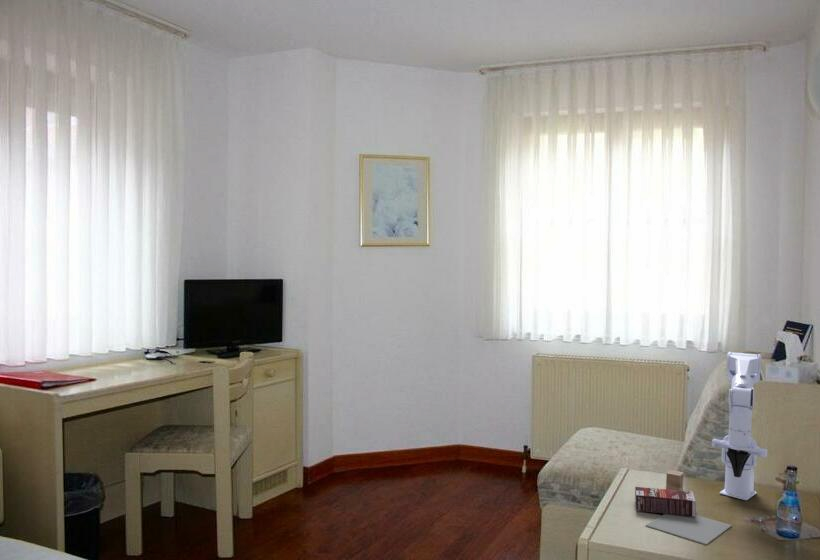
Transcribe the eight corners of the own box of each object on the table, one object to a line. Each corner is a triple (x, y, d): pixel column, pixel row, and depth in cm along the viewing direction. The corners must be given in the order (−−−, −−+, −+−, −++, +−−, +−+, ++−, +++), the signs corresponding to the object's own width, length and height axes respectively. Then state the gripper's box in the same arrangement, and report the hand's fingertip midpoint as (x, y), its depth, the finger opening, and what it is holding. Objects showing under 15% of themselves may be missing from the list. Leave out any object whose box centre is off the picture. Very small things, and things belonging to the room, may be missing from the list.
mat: (673, 509, 196) (673, 508, 196) (731, 526, 185) (731, 525, 185) (645, 526, 183) (645, 525, 183) (706, 545, 172) (706, 543, 172)
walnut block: (668, 492, 211) (669, 469, 211) (682, 495, 209) (683, 472, 208) (665, 495, 207) (666, 473, 207) (679, 498, 205) (680, 475, 205)
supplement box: (696, 500, 189) (635, 495, 193) (696, 517, 189) (635, 512, 193) (692, 490, 197) (634, 485, 202) (692, 507, 197) (634, 502, 202)
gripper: (708, 426, 197) (706, 473, 197) (762, 437, 187) (760, 485, 187) (717, 422, 202) (715, 468, 202) (770, 432, 192) (768, 480, 192)
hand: (737, 476), depth 195 cm, fingers closed
